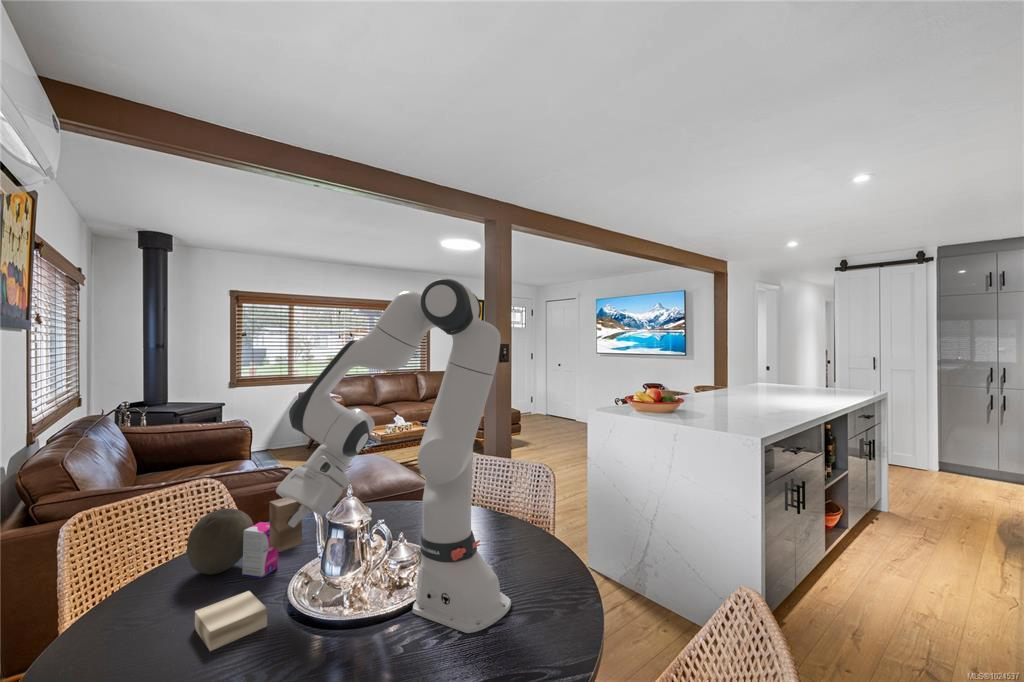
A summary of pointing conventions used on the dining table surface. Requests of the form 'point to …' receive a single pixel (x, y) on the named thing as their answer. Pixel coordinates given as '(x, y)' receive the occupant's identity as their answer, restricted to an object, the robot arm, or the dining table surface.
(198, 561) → the cantaloupe
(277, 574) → the dining table surface
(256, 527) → the supplement box
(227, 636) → the beech block
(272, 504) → the walnut block
